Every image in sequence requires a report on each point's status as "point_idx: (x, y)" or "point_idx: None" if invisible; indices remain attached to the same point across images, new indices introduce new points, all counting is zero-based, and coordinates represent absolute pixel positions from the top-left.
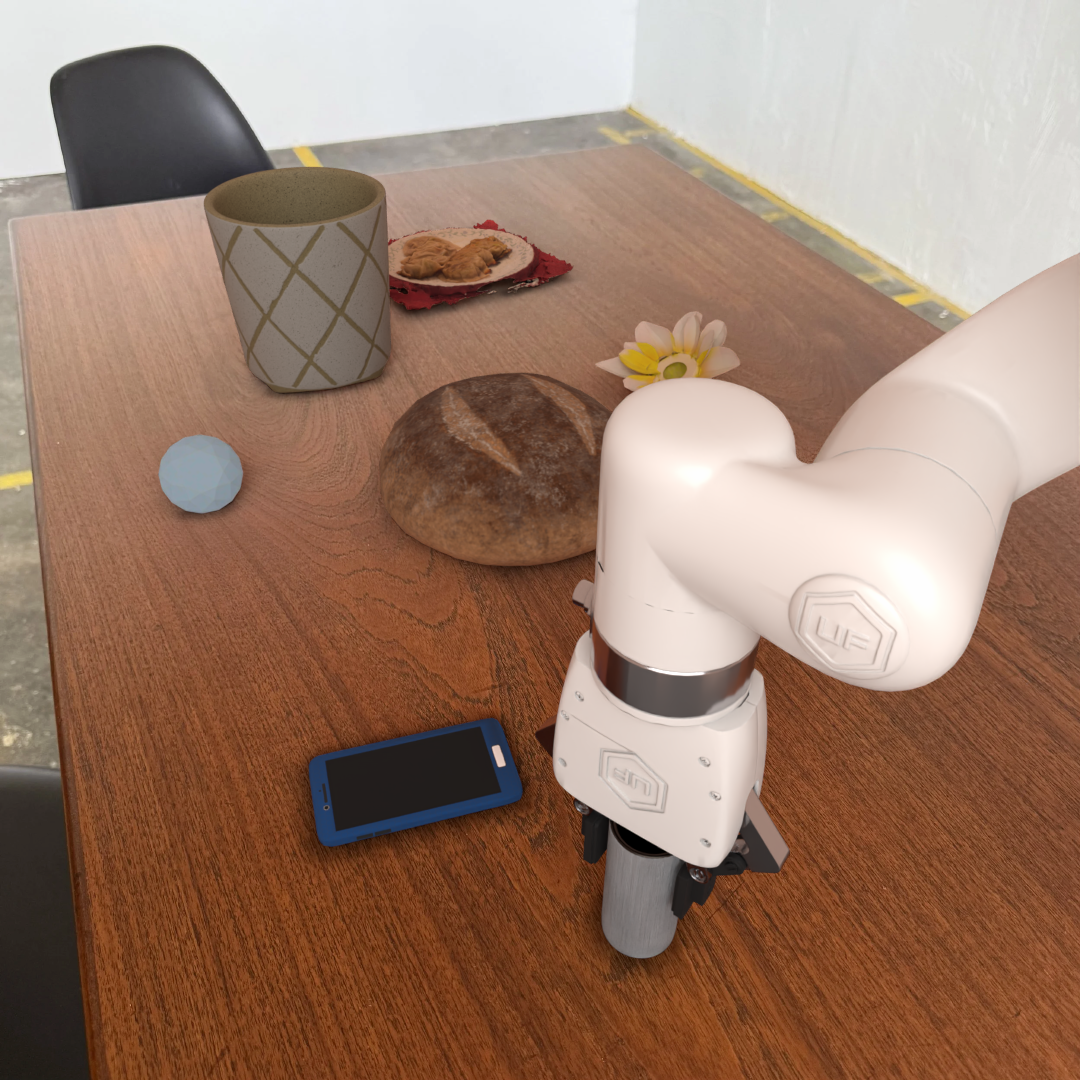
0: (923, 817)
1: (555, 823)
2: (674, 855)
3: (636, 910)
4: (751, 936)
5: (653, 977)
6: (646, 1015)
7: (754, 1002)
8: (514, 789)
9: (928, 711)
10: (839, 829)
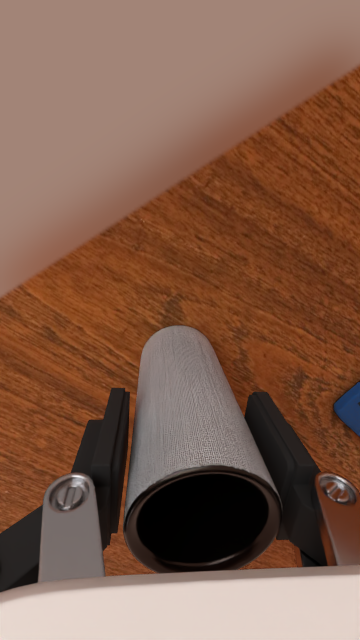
0: None
1: (291, 401)
2: (71, 593)
3: (173, 368)
4: (81, 400)
5: (139, 320)
6: (127, 284)
7: (46, 348)
8: (346, 411)
9: None
10: None
